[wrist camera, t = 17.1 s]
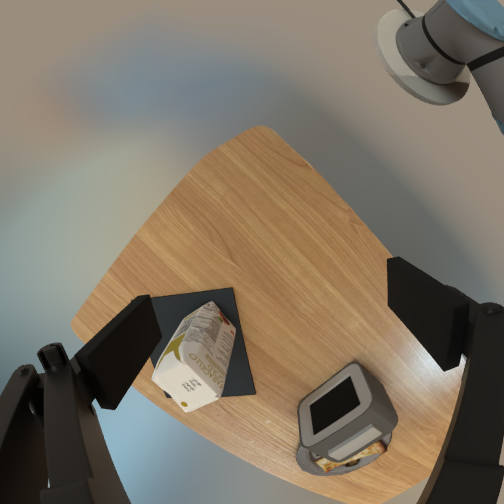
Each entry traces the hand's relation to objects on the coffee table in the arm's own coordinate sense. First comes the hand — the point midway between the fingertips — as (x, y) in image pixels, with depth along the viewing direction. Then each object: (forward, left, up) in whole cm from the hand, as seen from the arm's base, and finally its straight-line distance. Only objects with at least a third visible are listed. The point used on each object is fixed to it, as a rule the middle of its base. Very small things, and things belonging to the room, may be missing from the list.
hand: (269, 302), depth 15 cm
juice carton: (+16, -13, -32) cm, 38 cm away
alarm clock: (+38, +10, -33) cm, 51 cm away
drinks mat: (+22, -18, -33) cm, 43 cm away
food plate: (+58, +11, -33) cm, 68 cm away
